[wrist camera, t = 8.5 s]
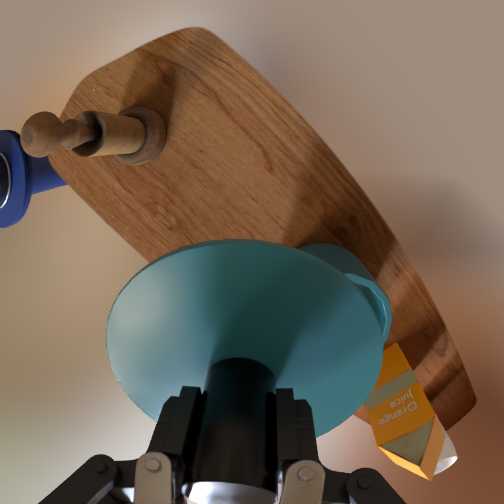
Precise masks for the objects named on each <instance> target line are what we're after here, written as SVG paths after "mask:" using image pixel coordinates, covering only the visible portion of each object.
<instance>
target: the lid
mask: <svg viewBox="0 0 504 504" xmlns="http://www.w3.org/2000/svg"><path fill="white" fill-rule="evenodd" d="M106 347H107V353H108V358H109V361H110V364H111V367H112V370H113V372H114V374H115V376H116V378H117V380H118V382H119V384H120V385H121V387H122V388H123V390H124V391H125V393H126V394H127V395H128V396H129V398H130V399H131V400H132V401H133V402H134V403H135V404H136V405H137V406H138V407H139V408H140V409H141V410H142V411H143V412H144V413H145V414H146V415H148V416H149V417H150V418H152V419H153V420H154V421H156V422H158V418H159V415H160V412H161V410H162V407H163V404H164V403H165V402H166V401H167V400H168V398H169V397H170V396H177V397H179V394H180V391H181V388H182V386H196V387H200V388H201V392H202V396H201V401H200V405H199V409H198V414H197V418H196V422H195V427H194V431H193V435H192V440H191V444H190V448H189V453H188V457H187V462H186V466H185V471H184V475H183V480H182V484H181V491H182V493H183V494H184V495H185V496H186V497H188V498H189V499H191V500H193V501H195V502H198V503H201V504H274V503H275V502H276V501H277V499H278V470H277V443H276V388H293V393H294V400H297V399H306V401H307V402H308V403H309V405H310V406H311V408H312V414H313V421H314V428H315V436H316V438H317V437H319V436H321V435H323V434H325V433H327V432H329V431H330V430H332V429H334V428H335V427H337V426H338V425H340V424H341V423H343V422H344V421H345V420H347V419H348V418H349V417H350V416H351V415H352V414H353V413H354V412H356V411H357V410H358V409H359V408H360V406H361V405H362V404H363V403H364V401H365V400H366V399H367V398H368V396H369V395H370V393H371V391H372V390H373V388H374V386H375V384H376V382H377V379H378V377H379V374H380V370H381V366H382V362H383V348H384V345H383V337H382V331H381V328H380V325H379V322H378V319H377V316H376V314H375V313H374V311H373V309H372V307H371V305H370V304H369V302H368V300H367V299H366V297H365V296H364V295H363V294H362V292H361V291H360V290H359V289H358V287H357V286H356V285H355V284H354V283H353V282H352V281H351V280H350V279H349V278H347V277H346V276H345V275H344V274H343V273H342V272H341V271H339V270H337V269H336V268H334V267H333V266H331V265H330V264H328V263H327V262H325V261H324V260H322V259H319V258H317V257H315V256H313V255H311V254H309V253H306V252H304V251H302V250H298V249H295V248H292V247H289V246H285V245H282V244H278V243H272V242H266V241H260V240H249V239H224V240H213V241H205V242H201V243H197V244H192V245H188V246H184V247H182V248H179V249H177V250H174V251H171V252H169V253H166V254H164V255H163V256H161V257H159V258H157V259H156V260H154V261H152V262H150V263H149V264H148V265H146V266H145V267H144V268H142V269H141V270H140V271H139V272H138V273H136V274H135V275H134V276H133V278H132V279H131V280H130V281H129V282H128V283H127V284H126V285H125V286H124V288H123V289H122V290H121V291H120V293H119V295H118V297H117V298H116V300H115V301H114V303H113V306H112V308H111V311H110V314H109V317H108V322H107V329H106Z"/></svg>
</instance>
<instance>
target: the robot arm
mask: <svg viewBox="0 0 504 504" xmlns="http://www.w3.org/2000/svg"><path fill="white" fill-rule="evenodd" d="M11 191H12V170H11V166H10V163H9V160H8V158H7V156H6V155H5V154H4V153H3V152H1V151H0V208H3V207H4V206H5V205H6V204H7V202H8V201H9V198H10V195H11ZM201 396H202V392H201V388H200V387H196V386H182V388H181V391H180V394H179V397H177V396H170V397H169V398H168V400H167V401H166V402H165V403H164V404H163V407H162V410H161V412H160V415H159V418H158V422H157V424H156V427H155V430H154V433H153V435H152V439H151V441H150V444H149V447H148V450H147V451H146V453H145V454H143V455H142V456H141V457H140V458H138V459H135V460H127V461H114V460H113V459H112V458H111V457H109V456H107V455H103V454H99V455H95V456H93V457H91V458H90V459H89V460H87V461H86V462H85V463H84V464H83V465H82V466H81V467H80V468H79V469H77V470H76V471H75V472H74V473H73V474H72V475H71V476H70V477H68V478H67V479H66V480H65V481H64V482H63V483H62V484H60V485H59V486H58V487H57V488H56V489H55V490H54V491H52V492H51V493H50V494H49V495H48V496H47V497H45V498H44V499H43V500H42V501H41V502H39V503H38V504H187V497H186V496H185V495H184V494H183V493H182V491H181V484H182V480H183V475H184V471H185V466H186V462H187V457H188V453H189V448H190V444H191V440H192V435H193V431H194V427H195V422H196V418H197V414H198V409H199V405H200V401H201ZM276 443H277V470H278V483H281V497H280V502H279V504H406V503H405V502H404V501H403V499H402V498H401V497H400V496H399V495H398V494H397V493H396V491H395V490H394V489H393V488H392V487H391V486H390V485H389V483H388V482H387V481H386V480H385V479H384V478H383V476H382V475H381V474H380V473H379V472H378V471H376V470H374V469H371V468H360V469H357V470H355V471H353V472H352V473H344V472H336V471H332V470H329V469H327V468H326V467H324V466H323V465H322V464H321V462H320V460H319V458H318V451H317V444H316V436H315V428H314V421H313V414H312V408H311V406H310V405H309V403H308V402H307V401H306V399H297V400H294V393H293V388H276Z"/></svg>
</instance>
